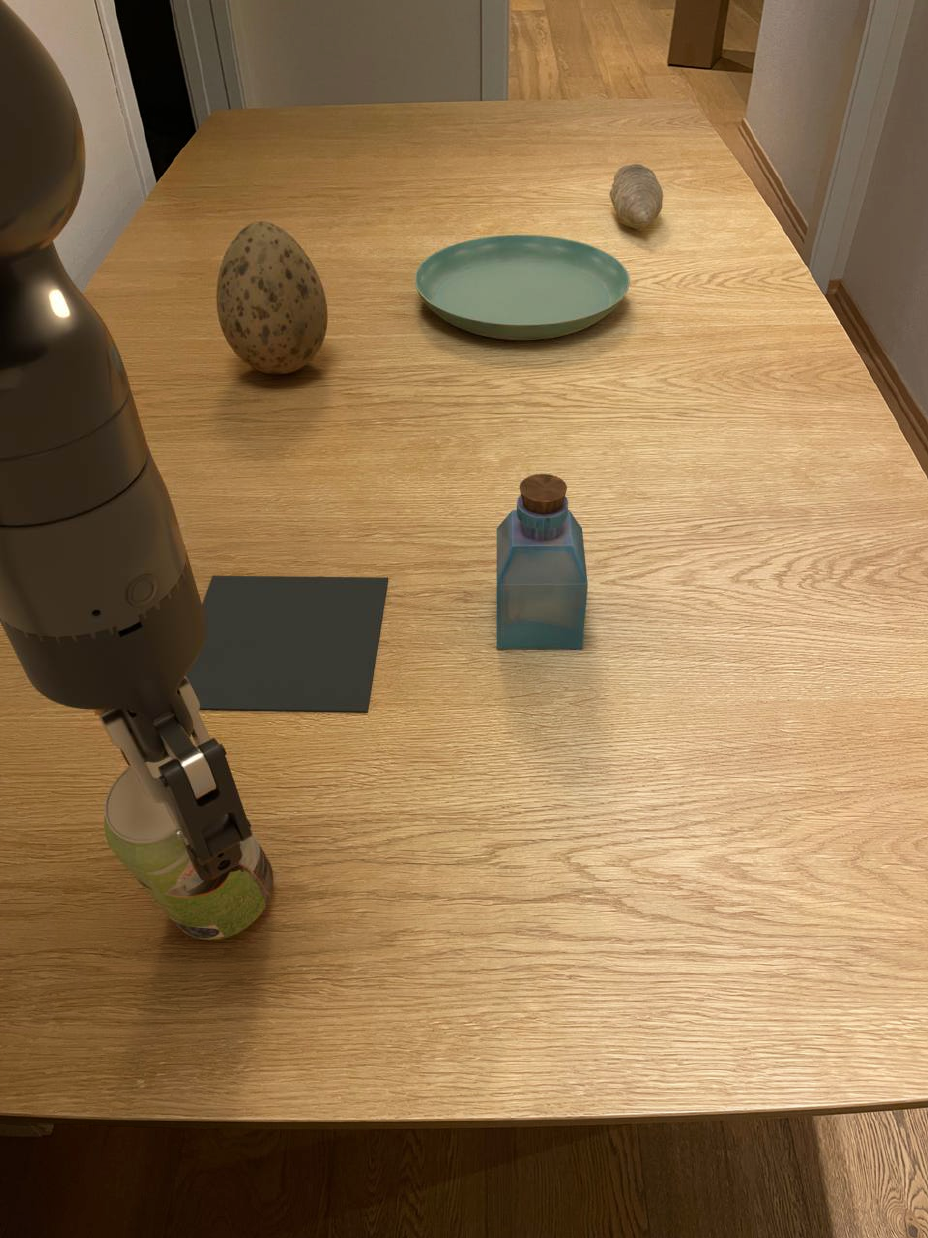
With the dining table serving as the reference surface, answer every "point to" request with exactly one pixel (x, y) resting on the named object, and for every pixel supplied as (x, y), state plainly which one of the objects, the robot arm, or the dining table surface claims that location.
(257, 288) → the decorative egg
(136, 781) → the beverage can
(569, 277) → the saucer
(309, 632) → the mat
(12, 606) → the robot arm
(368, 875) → the dining table surface
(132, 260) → the dining table surface
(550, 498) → the perfume bottle
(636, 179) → the seashell
